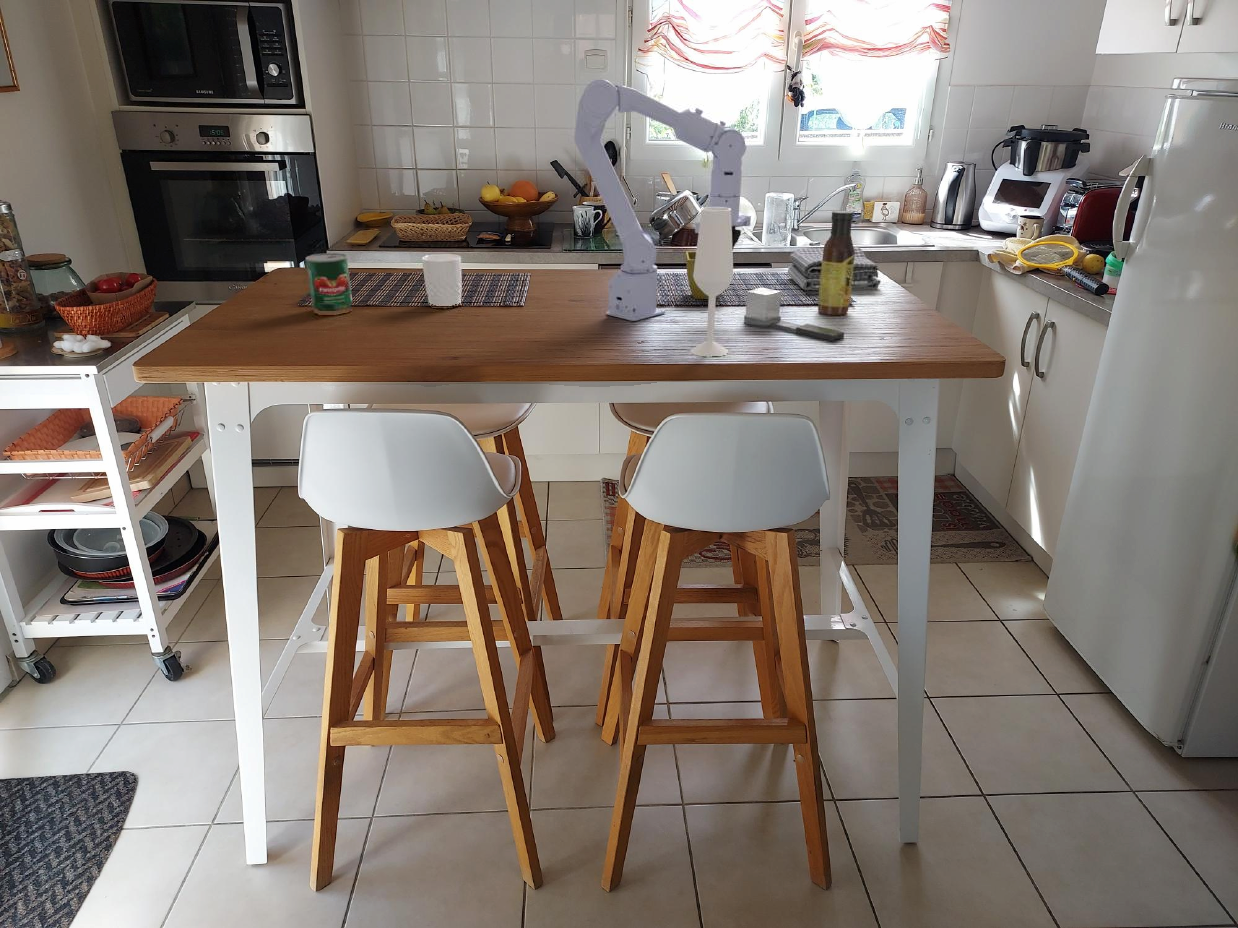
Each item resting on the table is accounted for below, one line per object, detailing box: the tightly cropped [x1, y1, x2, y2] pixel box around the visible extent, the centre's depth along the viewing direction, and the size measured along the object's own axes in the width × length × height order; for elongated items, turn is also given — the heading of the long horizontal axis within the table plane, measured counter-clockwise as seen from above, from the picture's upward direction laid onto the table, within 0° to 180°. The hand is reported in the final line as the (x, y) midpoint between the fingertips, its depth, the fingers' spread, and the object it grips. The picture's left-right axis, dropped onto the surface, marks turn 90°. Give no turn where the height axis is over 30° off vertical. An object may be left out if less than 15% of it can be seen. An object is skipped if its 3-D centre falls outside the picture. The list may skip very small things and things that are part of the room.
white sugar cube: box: [745, 287, 782, 321], centre depth 163 cm, size 5×5×5 cm
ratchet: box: [743, 314, 845, 344], centre depth 160 cm, size 20×7×4 cm, turn 45°
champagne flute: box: [690, 206, 734, 358], centre depth 142 cm, size 7×7×24 cm
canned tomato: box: [305, 252, 353, 311], centre depth 171 cm, size 8×8×11 cm
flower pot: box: [685, 251, 721, 300], centre depth 183 cm, size 9×9×9 cm
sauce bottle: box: [817, 210, 855, 316], centre depth 168 cm, size 7×6×20 cm
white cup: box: [421, 253, 463, 306], centre depth 175 cm, size 8×8×10 cm
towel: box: [787, 245, 881, 291], centre depth 195 cm, size 15×18×8 cm
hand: (721, 267), depth 168 cm, fingers closed
